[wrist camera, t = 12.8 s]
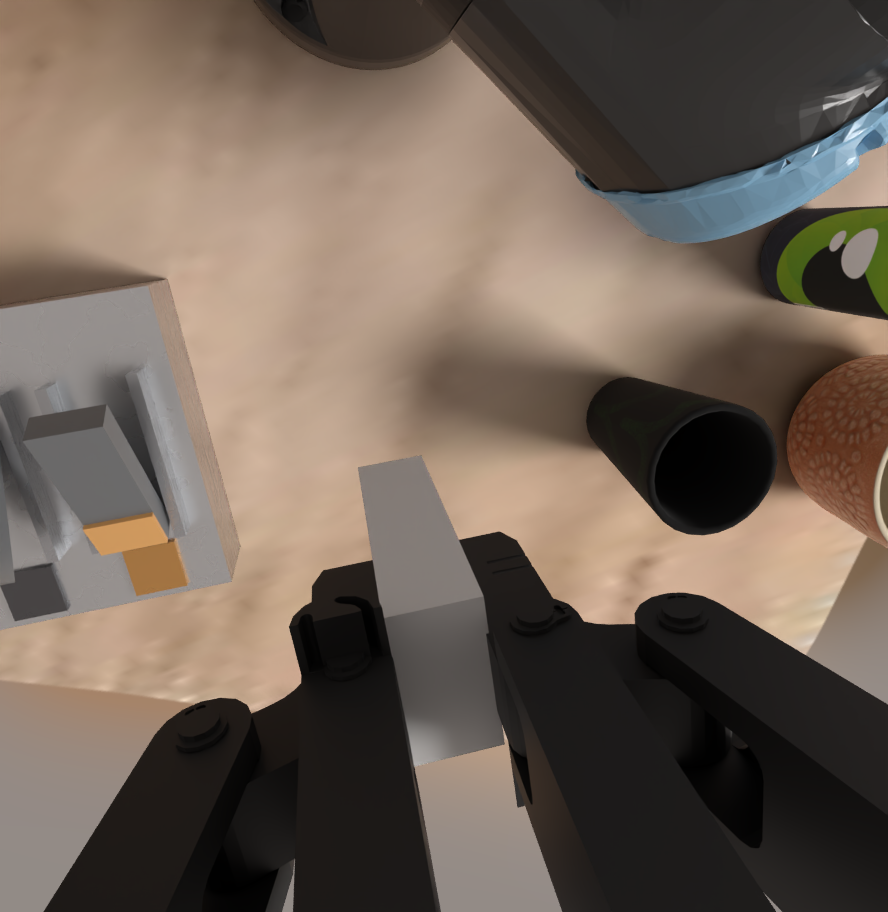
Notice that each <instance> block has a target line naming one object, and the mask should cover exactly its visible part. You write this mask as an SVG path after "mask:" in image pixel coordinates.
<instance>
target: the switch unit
mask: <svg viewBox="0 0 888 912" xmlns="http://www.w3.org/2000/svg"><path fill="white" fill-rule="evenodd" d="M104 404H107V405H108V407H109V409H110V411H111V413H112V414H113V416H114V418H115V420H116V421H117V423H118V425H119V427H120V429H121V430H122V432H123V434H124V436H125V438H126V439H127V441H128V443H129V445H130V447H131V448H132V450H133V452H134V454H135V455H136V457H137V459H138V461H139V463H140V464H141V466H142V468H143V470H144V472H145V473H146V475H147V477H148V479H149V481H150V482H151V484H152V486H153V488H154V489H155V491H156V493H157V495H158V497H159V498H160V500H161V502H162V504H163V506H164V507H165V509H166V511H167V513H168V516H169V520H170V526H169V539H168V543H163V544H158V545H153V546H148V547H143V548H138V549H133V550H128V551H123V552H118V553H113V554H108V555H103V556H101V554H100V553H99V552H98V550H97V549H96V548H95V546H94V545H93V543H92V542H91V541H90V539H89V538H88V537H87V535H86V534H85V532H84V531H83V524H82V523H81V521H80V520H79V519H78V517H77V516H76V515H75V513H74V512H73V510H72V509H71V508H70V506H69V505H68V503H67V502H66V501H65V499H64V498H63V497H62V495H61V494H60V492H59V491H58V490H57V488H56V487H55V486H54V484H53V483H52V481H51V480H50V479H49V477H48V476H47V474H46V473H45V472H44V470H43V469H42V468H41V466H40V465H39V463H38V462H37V461H36V459H35V458H34V456H33V455H32V454H31V452H30V451H29V450H28V448H27V447H26V445H25V444H24V443H23V437H24V434H25V430H26V426H27V423H28V419H29V418H30V417H36V416H41V415H47V414H53V413H58V412H64V411H70V410H75V409H81V408H87V407H92V406H98V405H104ZM0 457H1V466H2V474H3V483H4V491H5V500H6V508H7V517H8V525H9V534H10V542H11V551H12V559H13V568H14V577H15V583H10V584H5V585H0V630H2V629H7V628H12V627H17V626H22V625H26V624H31V623H36V622H41V621H46V620H50V619H55V618H60V617H65V616H70V615H74V614H79V613H84V612H89V611H94V610H98V609H103V608H108V607H113V606H117V605H122V604H127V603H132V602H137V601H141V600H146V599H151V598H156V597H161V596H165V595H170V594H175V593H180V592H185V591H189V590H194V589H199V588H204V587H209V586H213V585H218V584H223V583H228V582H232V578H233V574H234V570H235V566H236V562H237V558H238V554H239V550H240V543H239V539H238V536H237V532H236V528H235V525H234V521H233V517H232V514H231V510H230V506H229V503H228V499H227V496H226V492H225V488H224V485H223V481H222V477H221V474H220V470H219V466H218V463H217V459H216V455H215V452H214V448H213V444H212V441H211V437H210V433H209V430H208V426H207V422H206V419H205V415H204V411H203V408H202V404H201V400H200V397H199V393H198V389H197V386H196V382H195V378H194V375H193V371H192V367H191V364H190V360H189V356H188V353H187V349H186V346H185V342H184V338H183V335H182V331H181V327H180V324H179V320H178V316H177V313H176V309H175V305H174V302H173V298H172V294H171V291H170V287H169V283H168V280H167V279H164V280H158V281H151V282H145V283H138V284H132V285H126V286H119V287H113V288H107V289H100V290H94V291H88V292H81V293H75V294H69V295H62V296H56V297H50V298H43V299H37V300H31V301H24V302H18V303H12V304H5V305H0Z"/></svg>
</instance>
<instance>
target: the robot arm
mask: <svg viewBox="0 0 888 912" xmlns="http://www.w3.org/2000/svg"><path fill="white" fill-rule="evenodd" d="M254 1H255V3H256V4H257V6H258V7H259V8H260V9H261V11H262V12H263V13H264V14H265V16H266V17H267V18H268V19H269V20H270V21H271V22H272V23H273V24H274V25H275V26H276V27H277V28H278V29H279V30H280V31H281V32H282V33H283V34H284V35H286V36H287V37H288V38H289V39H290V40H292V41H293V42H294V43H296V44H297V45H299V46H300V47H302V48H303V49H305V50H306V51H308V52H310V53H312V54H314V55H316V56H318V57H320V58H322V59H324V60H327V61H329V62H332V63H335V64H338V65H341V66H345V67H350V68H356V69H365V70H382V69H391V68H397V67H401V66H405V65H408V64H411V63H414V62H417V61H419V60H421V59H423V58H425V57H427V56H429V55H431V54H433V53H434V52H436V51H437V50H439V49H440V48H442V47H443V46H444V45H446V44H447V43H448V42H449V41H450V40H453V42H454V43H455V44H456V45H457V46H458V47H459V48H460V49H461V50H462V51H463V52H464V53H465V54H466V55H467V56H468V57H469V58H470V59H471V60H472V61H473V62H474V63H475V64H476V66H477V67H478V68H479V69H480V70H481V71H482V72H483V73H484V74H485V75H486V76H487V77H488V78H489V79H490V80H491V81H492V82H493V83H494V84H495V85H496V86H497V87H498V88H499V89H500V91H501V92H502V93H503V94H504V95H505V96H506V97H507V98H508V99H509V100H510V101H511V102H512V103H513V104H514V105H515V106H516V107H517V108H518V109H519V110H520V111H521V112H522V113H523V115H524V116H525V117H526V118H527V119H528V120H529V121H530V122H531V123H532V124H533V125H534V126H535V127H536V128H537V129H538V130H539V131H540V132H541V133H542V134H543V135H544V136H545V137H546V138H547V140H548V141H549V142H550V143H551V144H552V145H553V146H554V147H555V148H556V149H557V150H558V151H559V152H560V153H561V154H562V155H563V156H564V157H565V158H566V159H567V160H568V161H569V162H570V163H571V165H572V166H573V167H574V168H575V170H576V176H577V178H578V179H579V180H580V181H581V183H582V184H583V185H584V186H585V187H586V188H587V189H588V190H589V191H591V192H592V193H594V194H597V195H598V196H600V197H602V198H604V199H606V200H607V201H608V202H609V203H610V204H611V205H612V206H613V207H614V208H615V209H616V210H618V211H619V212H620V213H621V214H622V215H623V216H624V217H625V218H626V219H627V220H628V221H629V222H630V223H631V224H632V225H634V226H635V227H636V228H637V229H638V230H640V231H641V232H643V233H645V234H646V235H648V236H652V237H657V238H659V239H662V240H664V241H670V242H673V243H698V242H706V241H712V240H717V239H721V238H725V237H729V236H732V235H736V234H739V233H742V232H745V231H747V230H750V229H753V228H755V227H758V226H760V225H763V224H765V223H767V222H769V221H772V220H774V219H776V218H778V217H780V216H782V215H784V214H786V213H788V212H790V211H792V210H794V209H796V208H798V207H800V206H802V205H803V204H805V203H807V202H809V201H810V200H812V199H814V198H815V197H817V196H819V195H820V194H822V193H823V192H825V191H826V190H828V189H829V188H831V187H832V186H834V185H835V184H837V183H838V182H839V181H841V180H842V179H844V178H845V177H846V176H848V175H849V174H850V173H852V172H853V171H854V170H856V169H857V167H858V165H859V156H860V155H862V154H864V153H866V152H868V151H870V150H873V149H876V148H879V147H881V146H883V145H886V144H887V143H888V0H254ZM358 471H359V477H360V483H361V490H362V496H363V502H364V509H365V515H366V521H367V527H368V534H369V540H370V546H371V552H372V559H373V560H371V561H366V562H361V563H357V564H352V565H347V566H342V567H338V568H333V569H328V570H323V571H322V573H321V574H320V576H319V577H318V578H317V580H316V581H315V583H314V584H313V585H312V602H311V603H309V604H307V605H305V606H304V607H303V608H301V609H300V610H299V611H298V612H297V613H296V614H295V615H294V616H293V618H292V621H291V623H290V626H289V629H290V633H291V636H292V640H293V644H294V648H295V652H296V656H297V660H298V664H299V667H300V671H301V675H302V676H301V684H300V685H299V686H298V687H297V688H296V689H295V690H294V691H293V692H291V693H290V694H289V695H287V696H286V697H285V698H283V699H281V700H279V701H277V702H276V703H274V704H272V705H270V706H268V707H266V708H263V709H261V710H259V711H257V712H255V713H252V714H251V712H250V710H249V708H248V706H247V705H246V704H244V703H243V702H241V701H239V700H237V699H229V698H217V699H212V700H207V701H202V702H200V703H197V704H195V705H192V706H190V707H188V708H186V709H184V710H182V711H181V712H179V713H178V714H176V715H175V716H173V717H172V718H171V719H169V720H168V721H167V722H166V723H165V724H164V725H163V726H162V727H161V728H160V730H159V731H158V732H157V733H156V734H155V735H154V737H153V739H152V740H151V742H150V743H149V745H148V747H147V748H146V750H145V751H144V753H143V755H142V756H141V758H140V759H139V761H138V762H137V764H136V766H135V767H134V769H133V770H132V772H131V774H130V775H129V777H128V779H127V780H126V782H125V783H124V785H123V786H122V788H121V789H120V791H119V793H118V794H117V796H116V797H115V799H114V801H113V802H112V804H111V806H110V807H109V809H108V810H107V812H106V814H105V815H104V817H103V818H102V820H101V821H100V823H99V825H98V826H97V828H96V829H95V831H94V833H93V834H92V836H91V837H90V839H89V840H88V842H87V844H86V845H85V847H84V849H83V850H82V852H81V853H80V855H79V856H78V858H77V859H76V861H75V863H74V864H73V866H72V868H71V869H70V871H69V872H68V874H67V875H66V877H65V879H64V880H63V882H62V883H61V885H60V887H59V888H58V890H57V891H56V893H55V894H54V896H53V898H52V899H51V901H50V903H49V904H48V906H47V907H46V909H45V910H44V912H282V909H283V906H284V903H285V899H286V896H287V892H288V889H289V885H290V882H291V879H292V875H293V867H294V859H295V875H294V905H293V912H441V910H440V904H439V899H438V893H437V888H436V882H435V877H434V871H433V866H432V860H431V854H430V849H429V843H428V838H427V832H426V827H425V821H424V816H423V810H422V804H421V799H420V794H419V788H418V783H417V778H416V774H415V768H414V766H418V765H422V764H427V763H430V762H435V761H439V760H443V759H446V758H451V757H455V756H459V755H463V754H467V753H471V752H475V751H479V750H483V749H487V748H492V747H496V746H500V745H504V744H505V743H504V736H503V729H502V725H503V728H504V731H505V733H506V736H507V739H508V742H509V750H510V757H511V764H512V771H513V778H514V785H515V792H516V799H517V806H518V807H521V806H525V807H526V809H527V812H528V815H529V818H530V821H531V824H532V827H533V829H534V832H535V835H536V838H537V841H538V844H539V846H540V849H541V852H542V855H543V858H544V861H545V864H546V866H547V869H548V872H549V875H550V878H551V881H552V883H553V886H554V889H555V892H556V895H557V898H558V900H559V903H560V906H561V909H562V912H776V911H775V909H774V908H773V906H772V905H771V903H770V902H769V900H768V899H767V897H766V896H765V894H766V895H767V896H768V897H769V898H770V899H771V900H772V901H773V902H774V904H776V906H778V908H779V909H780V910H781V911H782V912H888V705H887V704H886V703H884V702H883V701H881V700H879V699H878V698H876V697H874V696H873V695H871V694H869V693H868V692H866V691H864V690H863V689H861V688H859V687H858V686H856V685H854V684H853V683H851V682H849V681H848V680H846V679H844V678H843V677H841V676H839V675H838V674H836V673H834V672H832V671H831V670H829V669H828V668H826V667H824V666H823V665H821V664H819V663H818V662H816V661H814V660H812V659H811V658H809V657H808V656H806V655H804V654H803V653H801V652H799V651H798V650H796V649H794V648H793V647H791V646H789V645H788V644H786V643H784V642H783V641H781V640H779V639H778V638H776V637H774V636H773V635H771V634H769V633H768V632H766V631H764V630H763V629H761V628H759V627H758V626H756V625H754V624H753V623H751V622H749V621H748V620H746V619H744V618H743V617H741V616H739V615H738V614H736V613H734V612H733V611H731V610H729V609H728V608H726V607H724V606H723V605H721V604H719V603H718V602H715V601H713V600H711V599H708V598H706V597H704V596H700V595H694V594H688V593H667V594H663V595H659V596H655V597H651V598H650V599H648V600H646V601H645V602H643V603H641V604H640V605H639V607H638V609H637V610H636V612H635V624H615V625H607V624H594V623H588V622H584V621H583V620H582V618H581V617H580V615H579V614H578V612H577V611H576V610H575V609H573V608H572V607H571V606H570V605H569V604H567V603H564V602H562V601H559V600H556V599H553V598H552V596H551V594H550V593H549V591H548V590H547V588H546V586H545V585H544V583H543V582H542V580H541V579H540V577H539V575H538V574H537V572H536V571H535V569H534V567H532V565H531V563H530V561H529V559H528V558H527V556H525V553H524V551H523V550H522V548H521V547H520V545H519V543H518V542H517V540H515V539H513V538H511V537H509V536H507V535H505V534H503V533H501V532H495V533H490V534H485V535H481V536H476V537H471V538H466V539H462V540H458V537H457V535H456V533H455V531H454V528H453V526H452V524H451V522H450V519H449V517H448V515H447V513H446V510H445V508H444V506H443V504H442V501H441V499H440V497H439V495H438V492H437V490H436V488H435V486H434V483H433V481H432V479H431V477H430V474H429V472H428V470H427V467H426V465H425V463H424V461H423V458H422V456H421V455H420V456H415V457H410V458H405V459H399V460H394V461H389V462H384V463H379V464H374V465H369V466H363V467H358ZM763 892H764V893H765V894H764V893H763Z"/></svg>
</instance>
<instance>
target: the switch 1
mask: <svg viewBox="0 0 888 912" xmlns="http://www.w3.org/2000/svg"><path fill="white" fill-rule="evenodd" d="M10 583H15V577H14V568H13V559H12V551H11V542H10V534H9V525H8V517H7V508H6V500H5V491H4V483H3V474H2V466H1V457H0V585H5V584H10Z"/></svg>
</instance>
